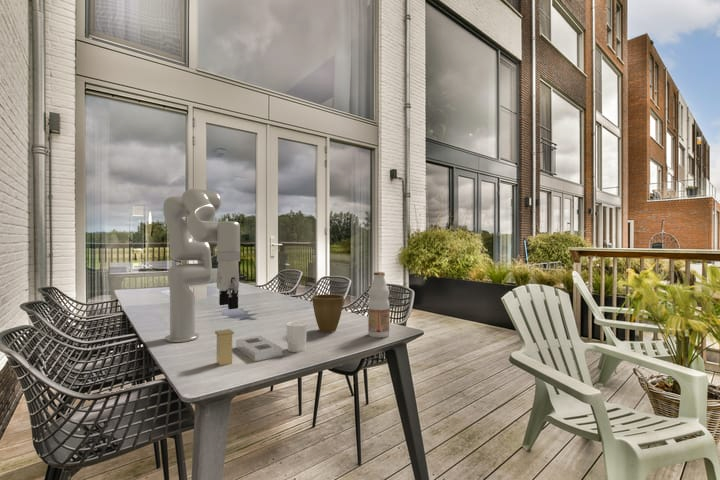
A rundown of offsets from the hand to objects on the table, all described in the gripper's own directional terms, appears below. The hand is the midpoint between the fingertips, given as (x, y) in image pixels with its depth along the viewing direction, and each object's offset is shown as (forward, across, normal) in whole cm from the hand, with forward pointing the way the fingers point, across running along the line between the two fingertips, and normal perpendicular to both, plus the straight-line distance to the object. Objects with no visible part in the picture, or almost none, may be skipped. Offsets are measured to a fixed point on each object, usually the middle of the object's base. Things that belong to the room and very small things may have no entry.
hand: (228, 306), depth 124 cm
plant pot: (+19, -16, +51) cm, 56 cm away
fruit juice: (+19, +4, +65) cm, 68 cm away
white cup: (+19, +1, +26) cm, 32 cm away
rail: (+19, -5, +13) cm, 23 cm away
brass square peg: (+19, 0, -1) cm, 19 cm away
